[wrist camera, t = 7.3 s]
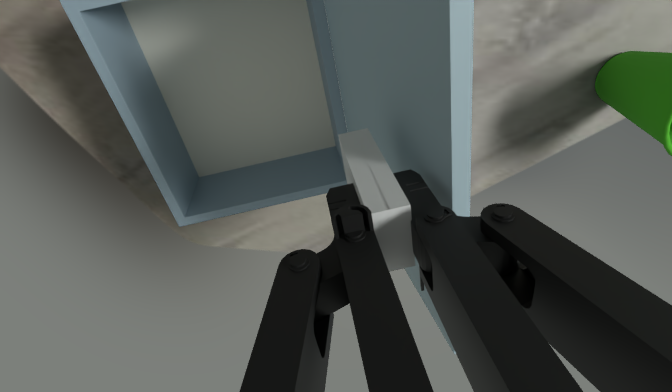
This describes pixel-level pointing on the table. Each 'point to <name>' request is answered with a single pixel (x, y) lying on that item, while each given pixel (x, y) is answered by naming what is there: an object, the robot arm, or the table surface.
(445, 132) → the lid
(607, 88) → the cup
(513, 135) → the table surface
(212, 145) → the box
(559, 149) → the table surface
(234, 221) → the table surface
